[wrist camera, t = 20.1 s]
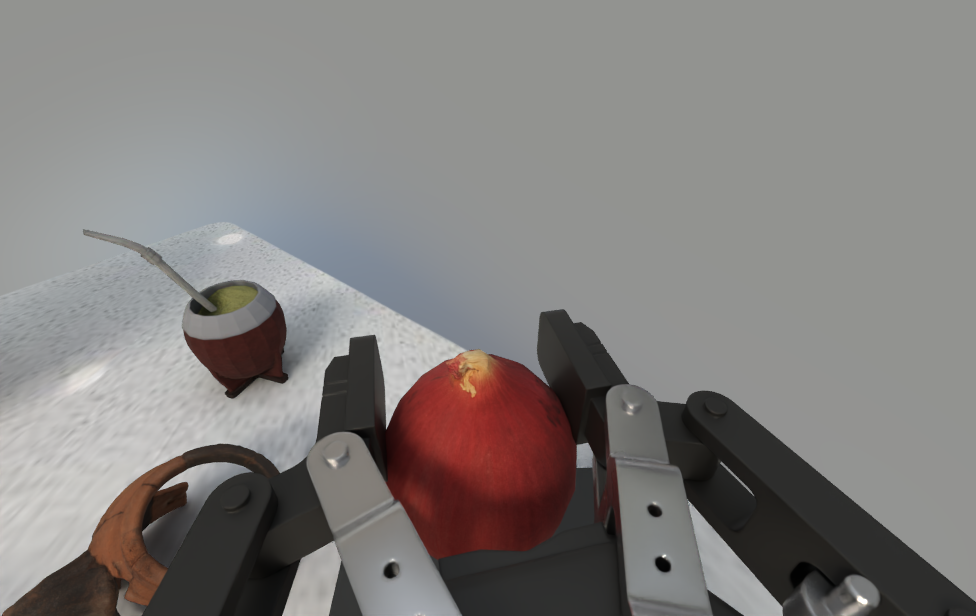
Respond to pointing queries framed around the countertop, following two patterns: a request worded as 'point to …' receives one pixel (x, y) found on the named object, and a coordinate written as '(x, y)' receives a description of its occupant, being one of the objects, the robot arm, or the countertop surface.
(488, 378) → the onion
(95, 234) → the mate gourd
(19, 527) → the countertop surface
